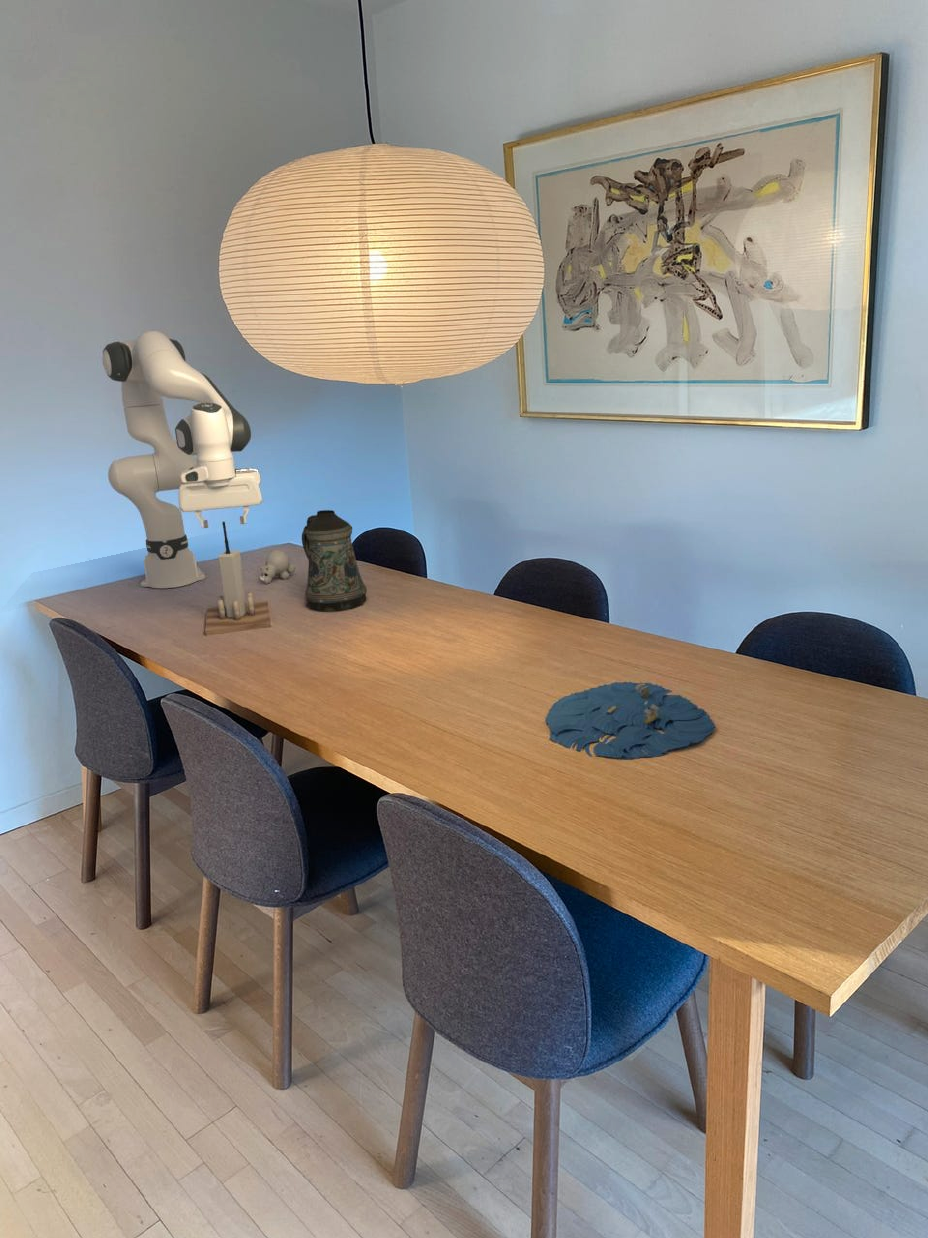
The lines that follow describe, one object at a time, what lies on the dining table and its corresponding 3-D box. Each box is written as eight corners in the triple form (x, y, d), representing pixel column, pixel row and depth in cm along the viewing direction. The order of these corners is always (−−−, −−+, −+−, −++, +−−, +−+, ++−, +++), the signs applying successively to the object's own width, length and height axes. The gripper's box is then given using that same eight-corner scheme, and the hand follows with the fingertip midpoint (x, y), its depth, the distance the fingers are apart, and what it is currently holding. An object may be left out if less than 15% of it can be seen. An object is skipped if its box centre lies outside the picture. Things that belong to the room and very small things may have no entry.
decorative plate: (697, 781, 142) (698, 753, 140) (521, 752, 154) (520, 725, 152) (727, 702, 167) (729, 676, 165) (574, 682, 179) (573, 658, 177)
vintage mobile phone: (248, 612, 234) (235, 518, 226) (241, 618, 229) (227, 522, 222) (235, 612, 235) (221, 518, 227) (227, 618, 230) (213, 523, 222)
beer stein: (350, 614, 231) (340, 519, 223) (285, 610, 238) (273, 518, 230) (377, 595, 246) (369, 506, 238) (315, 592, 252) (305, 505, 245)
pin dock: (207, 612, 240) (204, 590, 238) (267, 604, 244) (265, 582, 242) (205, 635, 222) (202, 611, 220) (270, 626, 225) (267, 603, 223)
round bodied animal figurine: (258, 591, 267) (246, 568, 263) (283, 567, 275) (272, 544, 270) (275, 593, 263) (263, 570, 259) (300, 569, 271) (289, 546, 266)
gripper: (258, 465, 226) (265, 518, 230) (175, 472, 221) (183, 527, 226) (259, 468, 220) (266, 523, 224) (173, 476, 216) (182, 532, 220)
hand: (224, 525), depth 225 cm, fingers open, 8 cm apart
